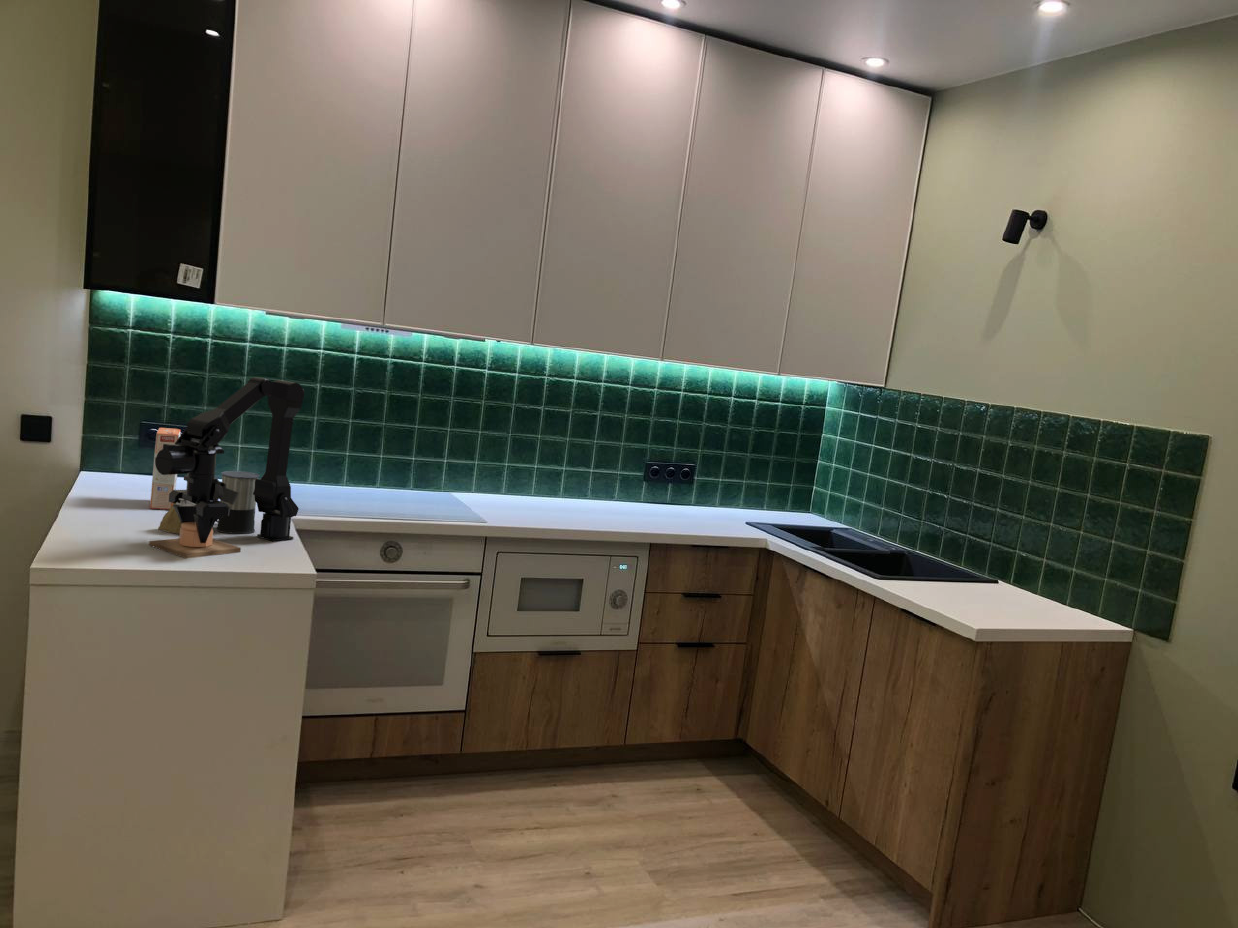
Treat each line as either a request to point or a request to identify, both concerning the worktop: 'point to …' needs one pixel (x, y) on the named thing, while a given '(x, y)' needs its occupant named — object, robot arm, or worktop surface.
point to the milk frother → (239, 503)
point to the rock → (171, 521)
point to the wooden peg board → (194, 548)
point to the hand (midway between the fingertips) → (195, 539)
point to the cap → (192, 536)
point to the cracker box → (161, 482)
